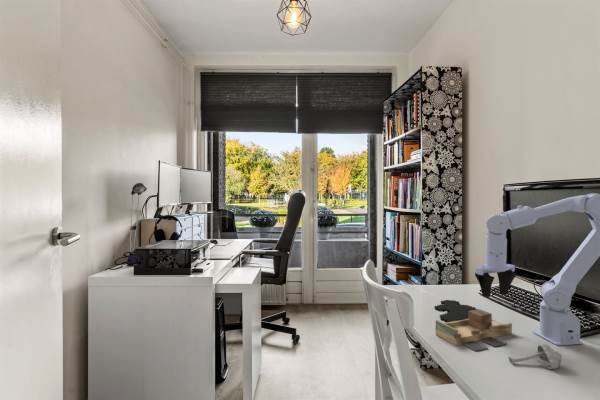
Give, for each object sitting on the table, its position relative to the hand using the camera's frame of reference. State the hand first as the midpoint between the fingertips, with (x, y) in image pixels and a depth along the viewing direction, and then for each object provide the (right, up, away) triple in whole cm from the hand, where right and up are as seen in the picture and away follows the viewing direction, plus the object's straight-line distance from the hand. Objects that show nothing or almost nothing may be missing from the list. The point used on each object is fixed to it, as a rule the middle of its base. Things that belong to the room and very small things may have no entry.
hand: (494, 295), depth 111 cm
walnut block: (-6, -9, -3) cm, 11 cm away
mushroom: (-2, -12, -23) cm, 26 cm away
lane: (-8, -11, -6) cm, 15 cm away
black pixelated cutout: (-5, -11, +12) cm, 17 cm away
